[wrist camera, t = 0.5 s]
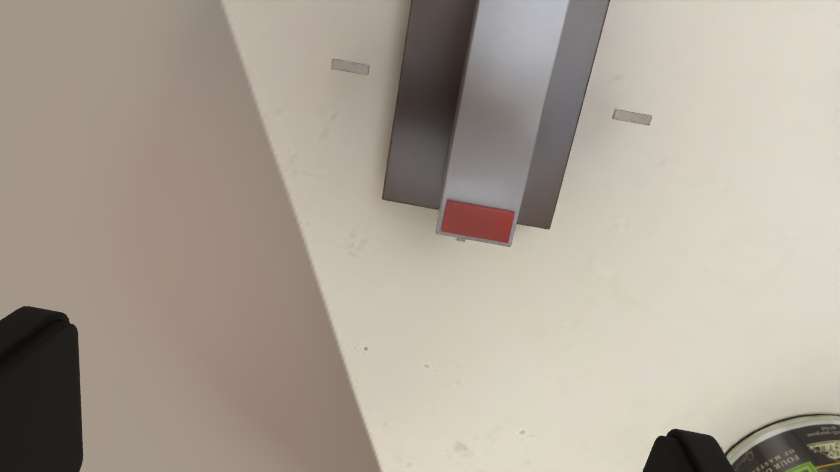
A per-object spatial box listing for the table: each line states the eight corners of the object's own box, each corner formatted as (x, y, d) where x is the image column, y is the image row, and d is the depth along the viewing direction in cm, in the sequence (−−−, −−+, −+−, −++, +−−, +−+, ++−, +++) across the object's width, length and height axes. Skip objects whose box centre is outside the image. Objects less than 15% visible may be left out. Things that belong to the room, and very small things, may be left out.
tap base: (365, -103, 23) (351, -121, 20) (673, -48, 23) (706, -59, 20) (331, 193, 27) (315, 214, 24) (589, 239, 27) (606, 267, 24)
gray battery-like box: (481, -28, 20) (488, -46, 15) (547, -17, 20) (578, -30, 15) (441, 186, 23) (435, 236, 18) (499, 197, 23) (511, 250, 18)
